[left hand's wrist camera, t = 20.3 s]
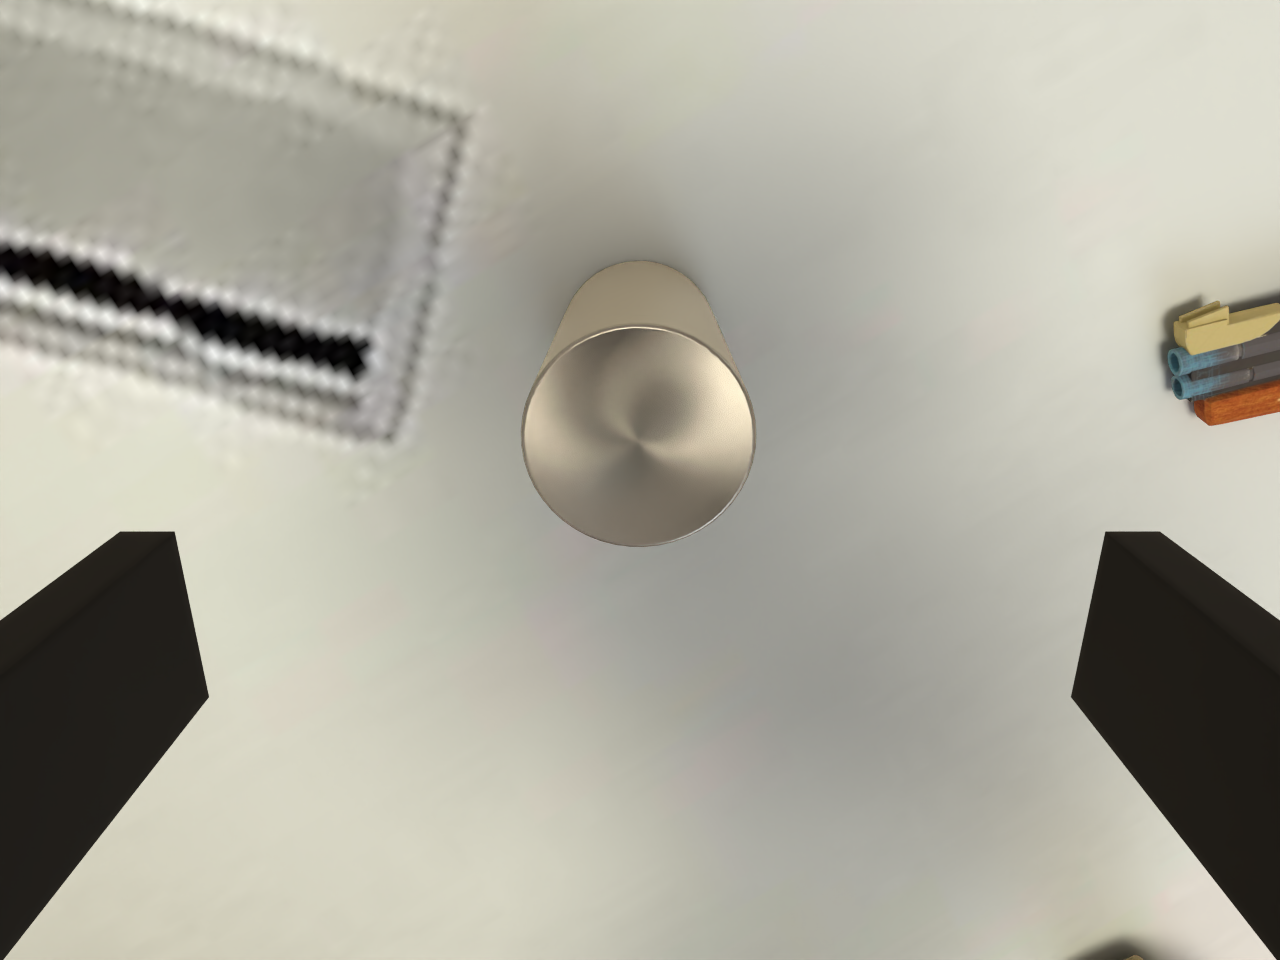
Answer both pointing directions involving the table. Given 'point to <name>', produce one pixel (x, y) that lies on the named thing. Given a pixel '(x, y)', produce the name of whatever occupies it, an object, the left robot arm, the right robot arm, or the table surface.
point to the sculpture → (1134, 958)
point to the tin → (638, 411)
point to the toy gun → (1228, 362)
